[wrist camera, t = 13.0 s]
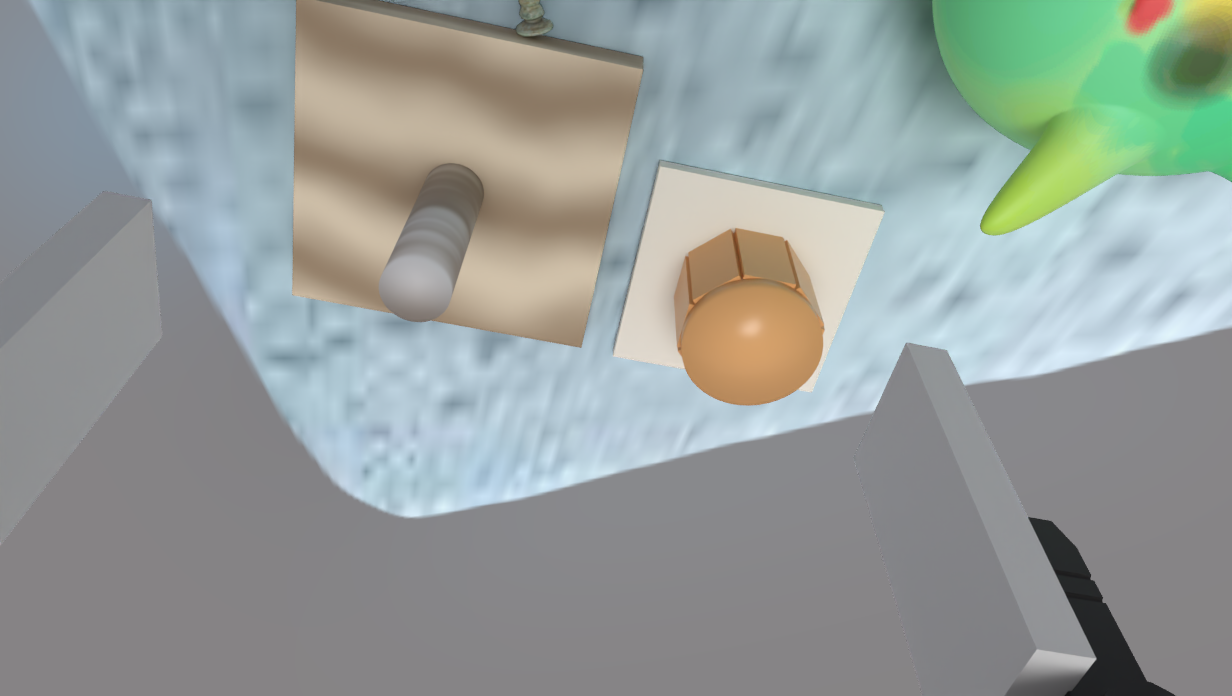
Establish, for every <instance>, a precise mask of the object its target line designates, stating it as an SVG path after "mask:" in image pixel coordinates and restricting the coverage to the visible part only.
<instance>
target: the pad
mask: <svg viewBox="0 0 1232 696" xmlns="http://www.w3.org/2000/svg"><path fill="white" fill-rule="evenodd" d="M884 212H885V211H884V209H883V207H882V205H878V204H873V203H868V202H863V201H858V200H854V199H849V198H844V197H839V196H834V195H829V194H824V193H819V192H814V191H809V190H804V189H799V188H795V187H790V186H785V185H780V184H775V183H770V182H765V181H760V180H755V179H750V178H745V177H740V176H735V175H731V174H726V173H721V172H716V171H711V170H706V169H701V168H696V167H691V166H686V165H681V164H676V163H671V162H667V161H662V160H660V162H659V166H658V170H657V174H656V178H655V182H654V186H653V190H652V194H651V198H650V202H649V206H648V210H647V215H646V219H645V223H644V227H643V231H642V235H641V239H640V243H639V247H638V251H637V255H636V259H635V263H634V267H633V271H632V275H631V279H630V283H629V287H628V291H627V295H626V300H625V304H624V308H623V312H622V316H621V320H620V324H619V328H618V332H617V336H616V340H615V344H614V348H613V356H614V357H620V358H625V359H631V360H636V361H642V362H647V363H653V364H658V365H664V366H669V367H675V368H680V369H685V367H684V363H683V360H682V356H681V355H680V354H679V352H678V349H677V341H676V324H675V307H674V294H675V291H676V287H677V284H678V280H679V276H680V273H681V269H682V266H683V262H684V259H685V256H688V257H689V254H688V252H690V251H692V250H693V249H695V248H697V247H699V246H700V245H702V244H704V243H706V242H708V241H709V240H711V239H713V238H715V237H717V236H718V235H720V234H722V233H724V232H726V231H727V230H729V229H731V230H732V232H733V233H734V232H735V229H736V228H739V229H744V230H749V231H754V232H759V233H764V234H769V235H774V236H779V237H783V239H784V241H786V240H788V242H789V244H790V245H791V247H792V248H793V250H794V252H795V253H796V255H797V257H798V258H799V260H800V261H801V263H802V265H803V266H804V268H805V269H806V271H807V273H808V274H809V276H810V279H811V283H812V286H813V289H814V292H815V296H816V299H817V302H818V306H819V309H820V312H821V316H822V319H823V322H824V329H825V331H824V333H823V351H822V356H821V359H820V362H819V364H818V366H817V368H816V370H815V372H814V373H813V375H812V376H811V377H810V378H809V379H808V381H807V382H806V383H805V384H803V385H802V386H801V387H800V388H799V389H797V390H801V391H807V392H812V391H813V388H814V386H815V383H816V381H817V378H818V376H819V373H820V371H821V368H822V366H823V363H824V361H825V358H826V356H827V353H828V351H829V349H830V346H831V344H832V341H833V339H834V336H835V334H836V331H837V329H838V326H839V324H840V321H841V319H842V316H843V314H844V311H845V309H846V306H847V304H848V302H849V299H850V297H851V294H852V292H853V289H854V287H855V284H856V282H857V279H858V277H859V274H860V272H861V269H862V267H863V264H864V262H865V259H866V257H867V254H868V252H869V250H870V247H871V245H872V242H873V240H874V237H875V235H876V232H877V230H878V227H879V225H880V222H881V220H882V217H883V215H884Z"/></svg>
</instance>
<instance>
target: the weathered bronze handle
mask: <svg viewBox="0 0 1232 696" xmlns="http://www.w3.org/2000/svg"><path fill="white" fill-rule="evenodd" d="M539 2H540V0H519V4H520V5H521V9H520V12H519V15H520V17H521V18H522V19H524V20H525V21H523V22H521V23H520V24H519V25H517V27H516V32H517V34H518V35H521V36H524V37H527V36H536V35H542V34H544V33H547V32H548V31H550V30H551V29H552V28H553V24H552V22H551V21H550V20H548V19H545V18H542V16H543V15H544V10H543V8H542V6H541V5H540V4H539Z"/></svg>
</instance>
